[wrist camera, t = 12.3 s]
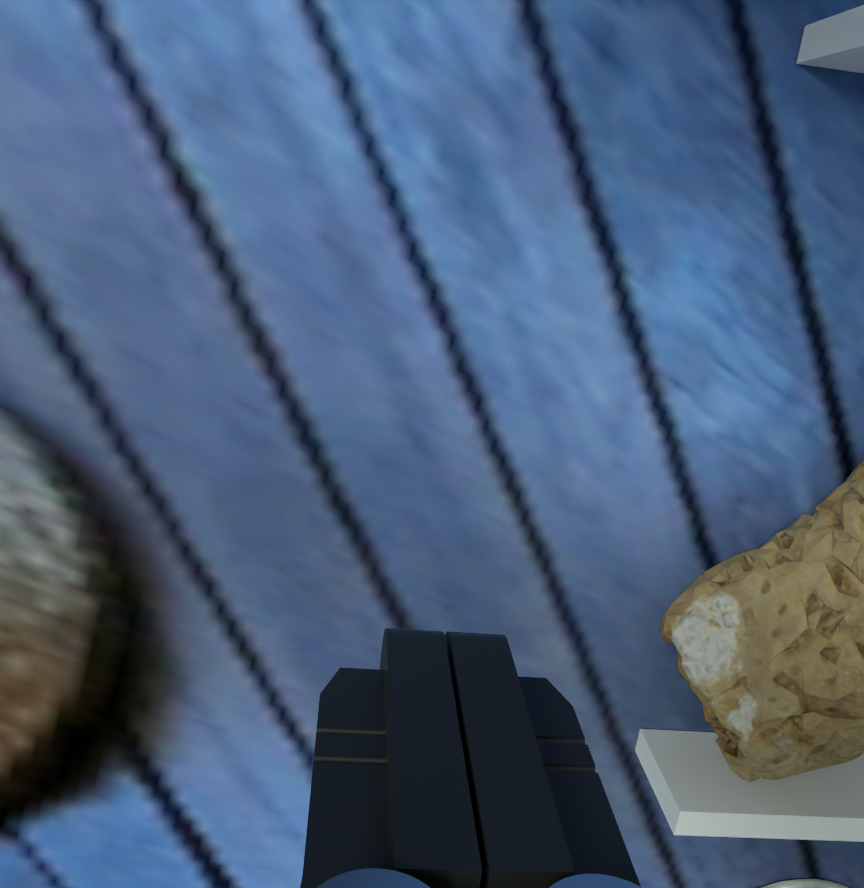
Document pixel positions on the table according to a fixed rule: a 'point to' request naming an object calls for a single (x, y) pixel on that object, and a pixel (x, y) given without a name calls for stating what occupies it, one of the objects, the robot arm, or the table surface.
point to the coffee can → (805, 884)
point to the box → (696, 753)
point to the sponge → (782, 643)
